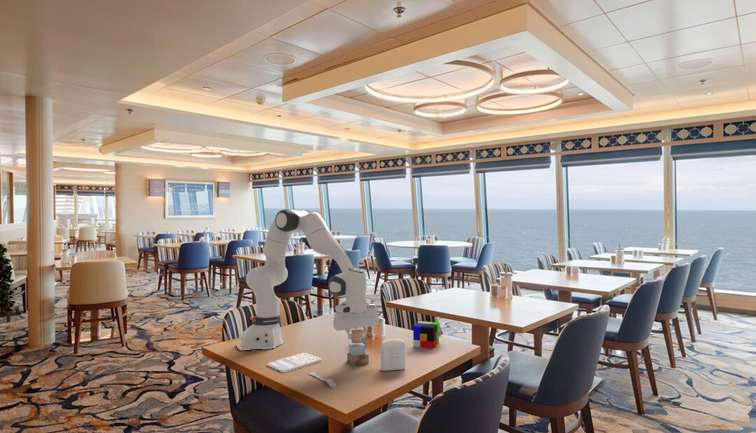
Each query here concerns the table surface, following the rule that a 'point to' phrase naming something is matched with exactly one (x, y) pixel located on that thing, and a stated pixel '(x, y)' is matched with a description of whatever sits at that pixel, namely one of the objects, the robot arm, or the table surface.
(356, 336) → the terracotta capsule
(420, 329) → the puzzle toy
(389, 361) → the photo printer
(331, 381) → the fork
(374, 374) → the table surface
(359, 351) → the blue-grey cube
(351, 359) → the walnut block
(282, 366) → the calculator
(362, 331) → the game die
